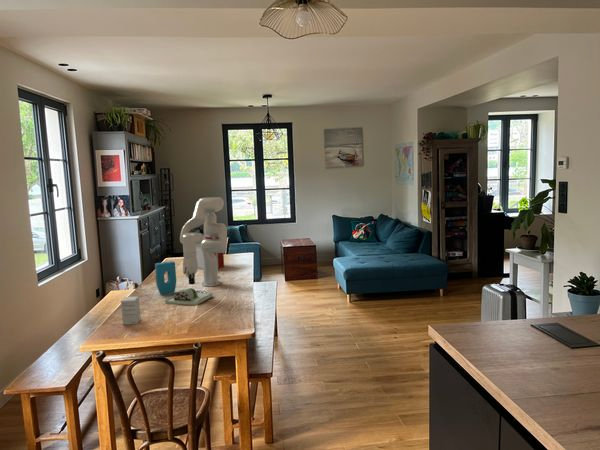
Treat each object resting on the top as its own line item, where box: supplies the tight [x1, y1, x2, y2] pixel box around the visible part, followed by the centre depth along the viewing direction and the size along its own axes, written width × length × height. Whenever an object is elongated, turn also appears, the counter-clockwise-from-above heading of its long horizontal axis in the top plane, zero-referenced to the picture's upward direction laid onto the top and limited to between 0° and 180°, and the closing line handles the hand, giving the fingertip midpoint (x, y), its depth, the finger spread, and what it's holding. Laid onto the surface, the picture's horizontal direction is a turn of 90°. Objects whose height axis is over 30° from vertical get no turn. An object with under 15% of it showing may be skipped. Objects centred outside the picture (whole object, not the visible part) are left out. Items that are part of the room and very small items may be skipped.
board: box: [164, 292, 213, 306], centre depth 268 cm, size 19×21×2 cm
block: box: [154, 261, 177, 296], centre depth 284 cm, size 12×5×20 cm, turn 123°
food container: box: [174, 288, 198, 301], centre depth 265 cm, size 12×6×10 cm
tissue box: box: [196, 235, 225, 271], centre depth 360 cm, size 16×18×27 cm
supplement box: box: [120, 295, 141, 325], centre depth 229 cm, size 7×7×13 cm
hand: (192, 283), depth 271 cm, fingers closed
